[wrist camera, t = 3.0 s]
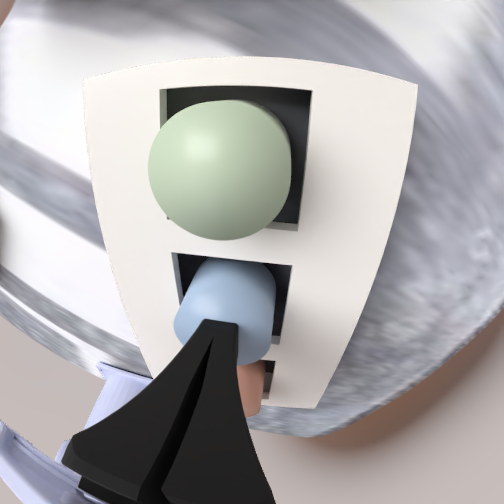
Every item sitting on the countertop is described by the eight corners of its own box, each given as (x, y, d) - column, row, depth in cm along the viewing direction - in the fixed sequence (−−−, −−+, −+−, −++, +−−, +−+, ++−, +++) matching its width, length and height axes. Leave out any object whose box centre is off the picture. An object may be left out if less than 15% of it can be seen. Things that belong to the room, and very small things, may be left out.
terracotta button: (263, 381, 18) (258, 421, 15) (207, 373, 18) (197, 411, 15) (268, 348, 16) (262, 394, 13) (202, 339, 16) (188, 382, 13)
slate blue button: (272, 320, 14) (266, 370, 11) (198, 310, 14) (180, 357, 12) (280, 257, 12) (275, 309, 9) (191, 248, 12) (166, 294, 10)
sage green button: (286, 204, 11) (283, 247, 8) (188, 197, 11) (155, 234, 8) (295, 102, 8) (297, 105, 6) (185, 100, 9) (143, 105, 6)
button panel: (314, 380, 19) (314, 408, 17) (166, 359, 20) (155, 384, 18) (391, 85, 8) (417, 84, 6) (118, 77, 10) (83, 79, 7)
